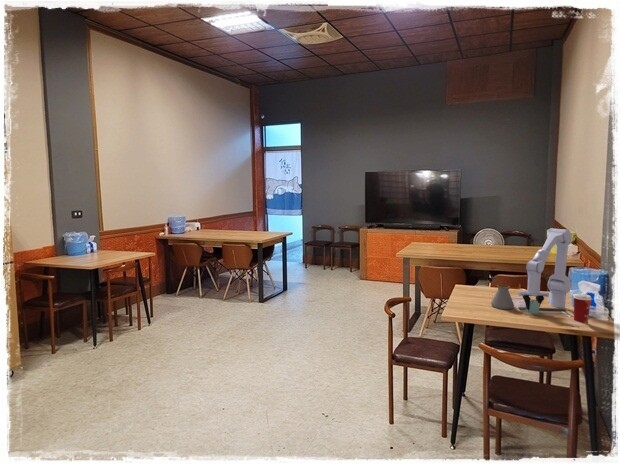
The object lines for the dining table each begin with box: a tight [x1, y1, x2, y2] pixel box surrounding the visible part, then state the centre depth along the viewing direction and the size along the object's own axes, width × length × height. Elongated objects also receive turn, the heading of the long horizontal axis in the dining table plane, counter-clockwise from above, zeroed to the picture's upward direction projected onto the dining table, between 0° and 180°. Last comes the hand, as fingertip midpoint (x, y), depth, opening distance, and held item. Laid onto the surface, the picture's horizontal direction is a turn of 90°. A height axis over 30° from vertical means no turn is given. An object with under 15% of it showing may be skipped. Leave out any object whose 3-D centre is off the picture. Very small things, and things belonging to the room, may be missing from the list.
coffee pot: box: [490, 276, 515, 310], centre depth 236 cm, size 21×12×15 cm, turn 178°
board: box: [517, 306, 574, 318], centre depth 220 cm, size 11×23×3 cm, turn 82°
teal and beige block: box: [526, 297, 541, 314], centre depth 221 cm, size 7×4×7 cm, turn 172°
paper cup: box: [572, 293, 593, 324], centre depth 208 cm, size 8×8×14 cm
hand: (532, 309), depth 222 cm, fingers closed on teal and beige block, 4 cm apart
